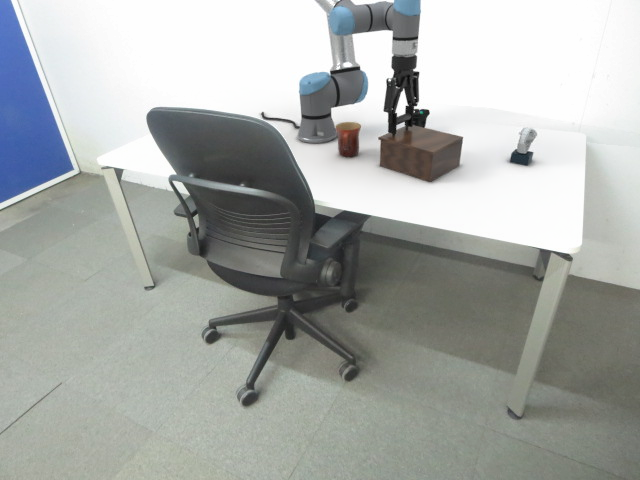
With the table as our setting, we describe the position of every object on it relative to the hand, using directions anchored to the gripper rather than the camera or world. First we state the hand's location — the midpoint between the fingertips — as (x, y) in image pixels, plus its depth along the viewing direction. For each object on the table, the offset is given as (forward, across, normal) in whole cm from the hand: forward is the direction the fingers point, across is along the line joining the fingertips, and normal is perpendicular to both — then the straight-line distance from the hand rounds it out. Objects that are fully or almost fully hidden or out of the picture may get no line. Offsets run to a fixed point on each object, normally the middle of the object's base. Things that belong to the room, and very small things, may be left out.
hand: (400, 129), depth 139 cm
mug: (+11, -8, +16) cm, 21 cm away
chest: (+11, 0, -8) cm, 13 cm away
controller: (+11, +26, +11) cm, 31 cm away
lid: (+2, 0, -8) cm, 8 cm away
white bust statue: (+11, +24, -31) cm, 41 cm away
